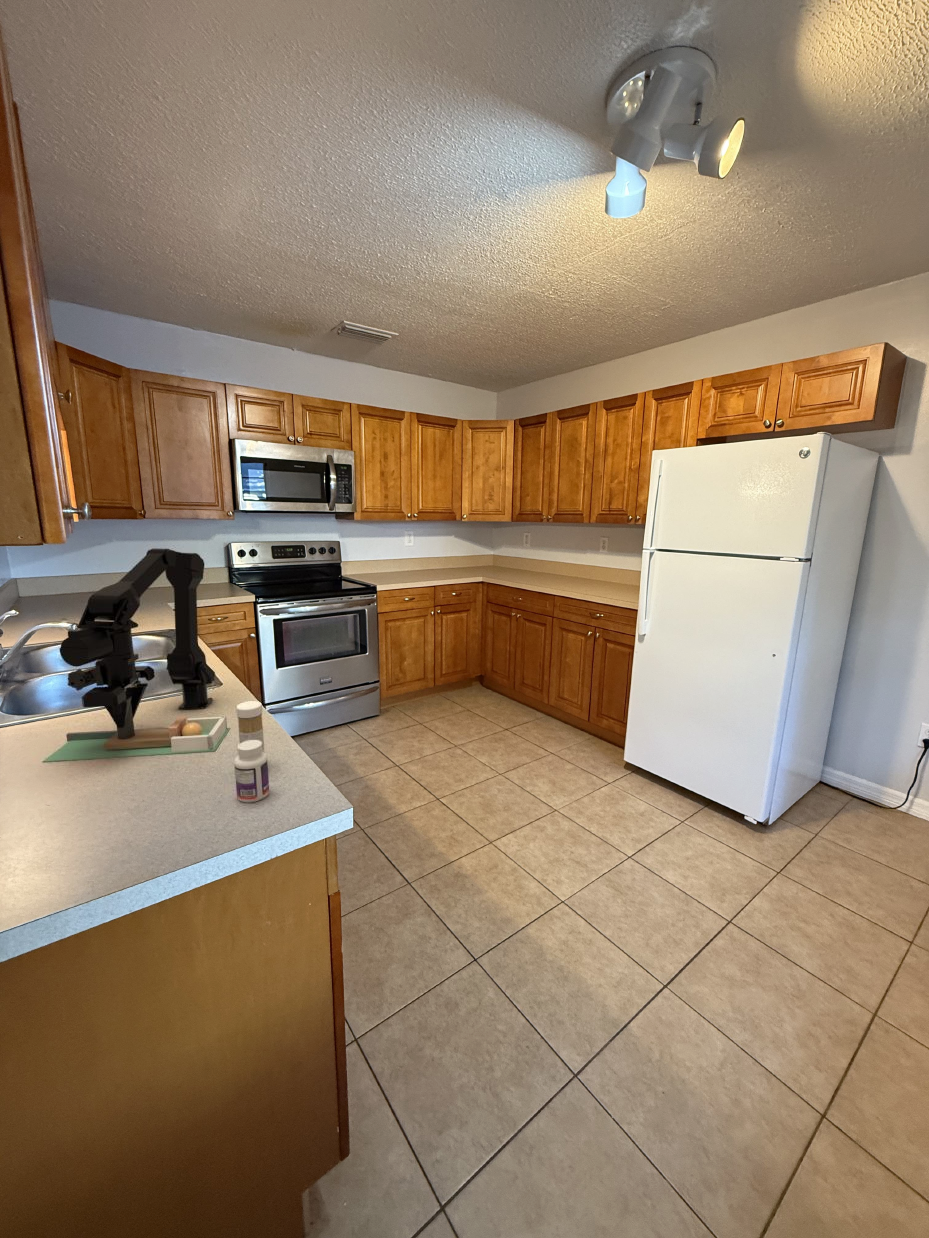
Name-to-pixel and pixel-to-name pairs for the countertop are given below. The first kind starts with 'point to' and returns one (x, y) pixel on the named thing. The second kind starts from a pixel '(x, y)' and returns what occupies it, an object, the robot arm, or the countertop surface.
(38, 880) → the countertop surface
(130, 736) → the striker sled
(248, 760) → the pill bottle
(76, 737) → the guide rail
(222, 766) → the countertop surface
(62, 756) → the mat
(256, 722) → the sprinkles bottle
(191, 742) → the box
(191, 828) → the countertop surface
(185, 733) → the foosball
